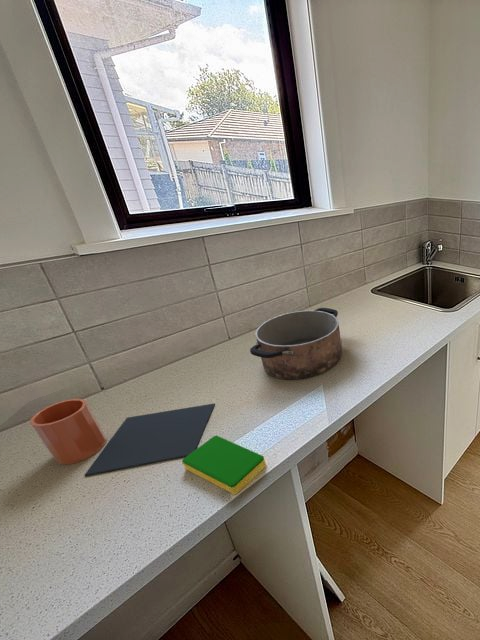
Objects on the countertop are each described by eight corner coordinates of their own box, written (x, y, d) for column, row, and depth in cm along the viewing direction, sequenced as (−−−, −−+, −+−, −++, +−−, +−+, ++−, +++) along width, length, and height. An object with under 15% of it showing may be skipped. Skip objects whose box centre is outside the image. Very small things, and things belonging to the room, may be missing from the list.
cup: (46, 468, 64) (18, 429, 60) (71, 439, 71) (48, 402, 67) (93, 459, 66) (70, 421, 62) (114, 432, 73) (94, 395, 68)
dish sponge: (235, 495, 59) (231, 486, 58) (184, 469, 64) (180, 460, 63) (267, 465, 65) (264, 456, 64) (218, 443, 70) (215, 434, 69)
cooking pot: (300, 397, 84) (292, 360, 79) (234, 377, 91) (224, 343, 86) (362, 342, 109) (360, 312, 104) (307, 330, 116) (302, 301, 111)
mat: (85, 476, 63) (84, 474, 63) (127, 418, 77) (126, 417, 76) (193, 455, 67) (193, 453, 67) (215, 404, 81) (214, 403, 81)
